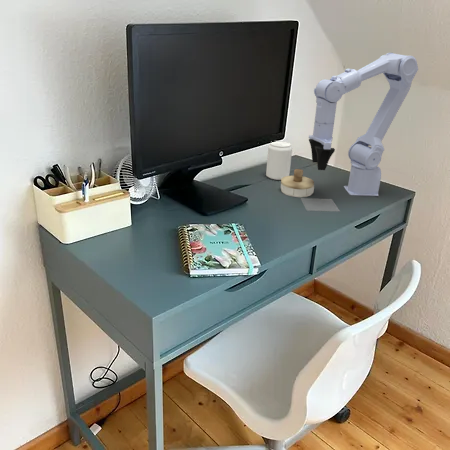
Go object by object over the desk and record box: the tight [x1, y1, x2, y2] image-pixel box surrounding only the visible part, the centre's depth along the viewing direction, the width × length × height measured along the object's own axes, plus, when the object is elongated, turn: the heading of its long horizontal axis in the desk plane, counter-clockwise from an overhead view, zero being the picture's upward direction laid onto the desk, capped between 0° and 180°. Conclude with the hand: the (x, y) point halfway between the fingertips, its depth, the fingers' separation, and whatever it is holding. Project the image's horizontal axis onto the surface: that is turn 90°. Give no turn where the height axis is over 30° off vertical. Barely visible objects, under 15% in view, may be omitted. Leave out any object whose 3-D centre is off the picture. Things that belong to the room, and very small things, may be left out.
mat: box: [299, 197, 341, 212], centre depth 151 cm, size 10×10×1 cm
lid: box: [280, 168, 315, 189], centre depth 158 cm, size 10×10×4 cm
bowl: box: [280, 183, 315, 198], centre depth 160 cm, size 10×10×3 cm
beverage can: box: [265, 140, 293, 181], centre depth 171 cm, size 8×8×12 cm
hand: (318, 165), depth 153 cm, fingers open, 7 cm apart
